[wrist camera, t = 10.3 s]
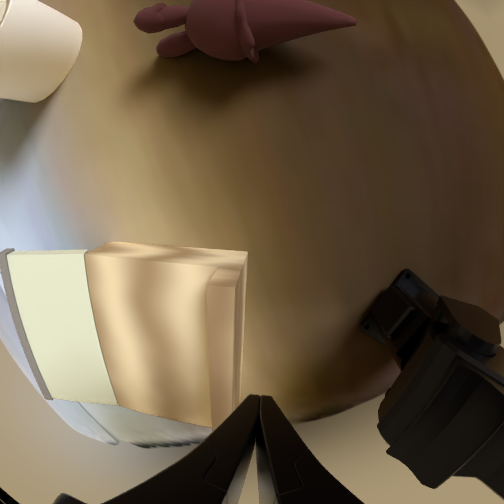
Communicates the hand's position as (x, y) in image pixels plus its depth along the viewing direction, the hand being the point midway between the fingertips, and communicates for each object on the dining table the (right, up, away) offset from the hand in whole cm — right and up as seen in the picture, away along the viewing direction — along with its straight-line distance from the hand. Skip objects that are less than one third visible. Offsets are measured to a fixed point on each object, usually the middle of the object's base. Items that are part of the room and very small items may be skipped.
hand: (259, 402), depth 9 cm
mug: (-23, +26, +8) cm, 36 cm away
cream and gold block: (-7, -2, +15) cm, 16 cm away
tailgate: (-13, -2, +11) cm, 18 cm away
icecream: (-1, +22, +8) cm, 24 cm away
